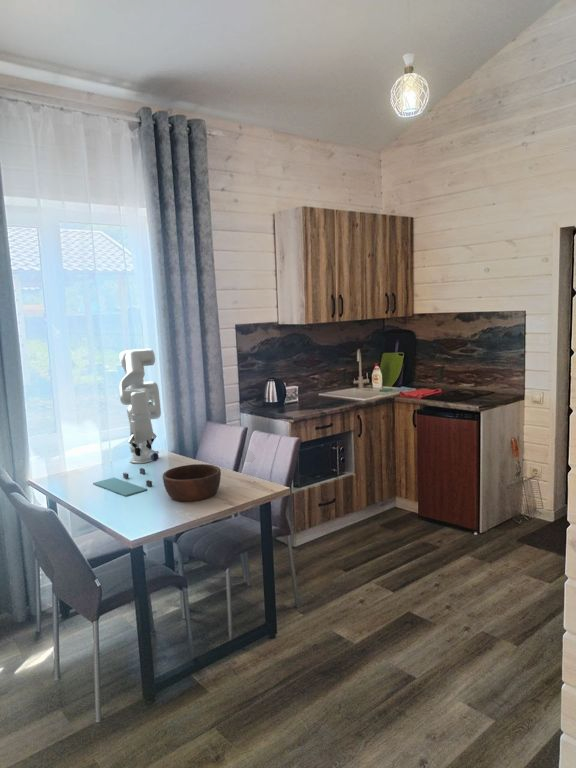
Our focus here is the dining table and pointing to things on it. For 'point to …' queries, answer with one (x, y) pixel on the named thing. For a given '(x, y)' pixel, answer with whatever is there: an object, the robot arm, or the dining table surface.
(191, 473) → the wooden bowl
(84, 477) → the dining table surface
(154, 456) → the grey tube
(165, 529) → the dining table surface
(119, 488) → the mat
